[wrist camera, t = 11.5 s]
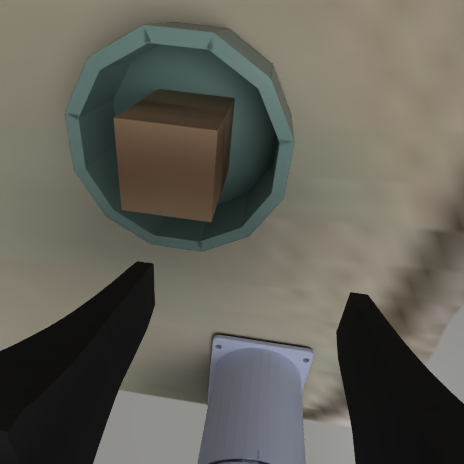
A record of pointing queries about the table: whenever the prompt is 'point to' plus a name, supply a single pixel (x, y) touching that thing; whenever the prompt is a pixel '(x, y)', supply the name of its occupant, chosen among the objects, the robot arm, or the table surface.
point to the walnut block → (174, 153)
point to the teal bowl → (193, 81)
